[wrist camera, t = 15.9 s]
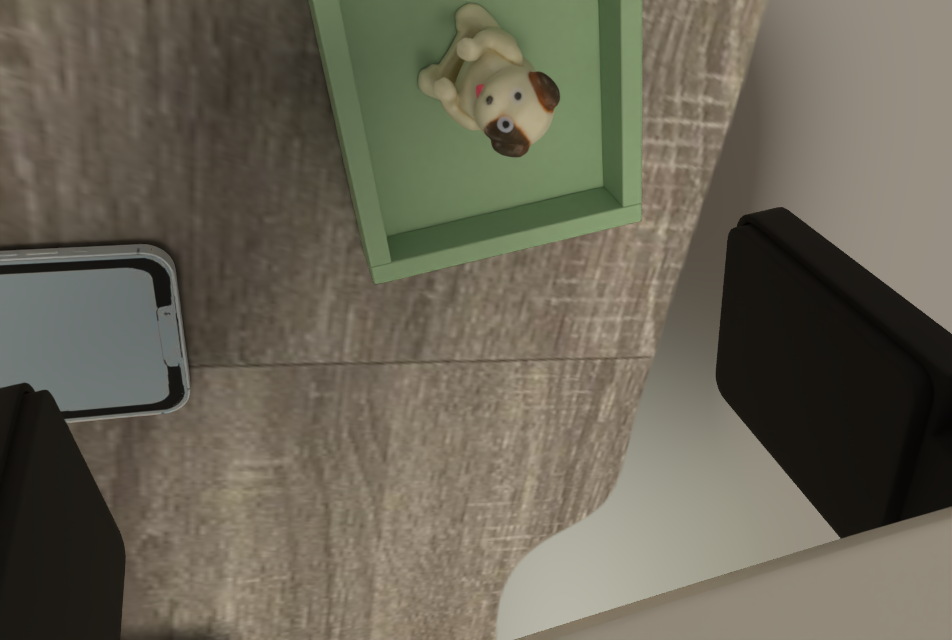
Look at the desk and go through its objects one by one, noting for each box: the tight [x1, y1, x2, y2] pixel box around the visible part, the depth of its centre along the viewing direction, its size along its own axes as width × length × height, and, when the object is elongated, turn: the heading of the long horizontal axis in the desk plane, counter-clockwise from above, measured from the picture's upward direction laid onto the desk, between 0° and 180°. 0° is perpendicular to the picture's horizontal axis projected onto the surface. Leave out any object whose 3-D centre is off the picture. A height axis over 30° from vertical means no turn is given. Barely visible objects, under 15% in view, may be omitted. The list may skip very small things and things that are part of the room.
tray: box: [308, 0, 642, 285], centre depth 30 cm, size 13×11×3 cm
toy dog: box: [418, 3, 560, 157], centre depth 28 cm, size 4×5×5 cm
